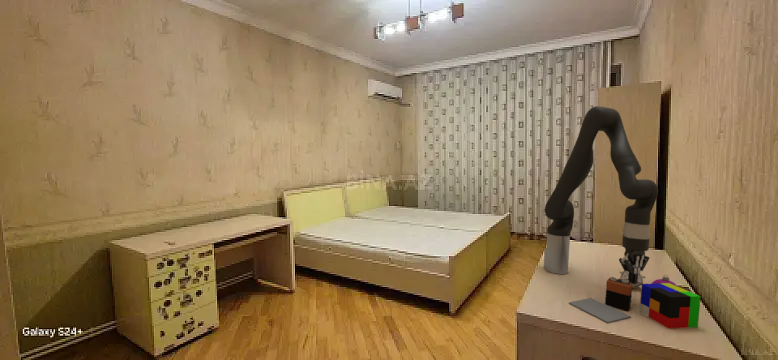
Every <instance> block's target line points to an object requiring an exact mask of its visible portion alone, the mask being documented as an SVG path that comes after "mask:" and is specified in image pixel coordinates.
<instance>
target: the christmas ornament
mask: <svg viewBox="0 0 778 360" xmlns="http://www.w3.org/2000/svg"><path fill="white" fill-rule="evenodd" d="M656 283H670V284H672V285H675V286H677V287H679V286H678V285H677V284H676V283H675V282H674V281H671V280H670V277H669V276H666V274H664V275H663V276H662V278H657V279H655V280H653V281H652V283H651V284H656Z"/></svg>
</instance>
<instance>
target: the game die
mask: <svg viewBox="0 0 778 360" xmlns="http://www.w3.org/2000/svg"><path fill="white" fill-rule="evenodd" d="M619 273H620V278H618V279H619V280H622V279H626V280H628V275H629V272H628V271H624V270H623V271H619ZM645 278H646V276H643V275H642V274H641V272H640V273H639V274H638V281H637V283H636V284H632V289H635V288H637V289H640V288H641V287H640V286H642V284H644V279H645Z"/></svg>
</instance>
